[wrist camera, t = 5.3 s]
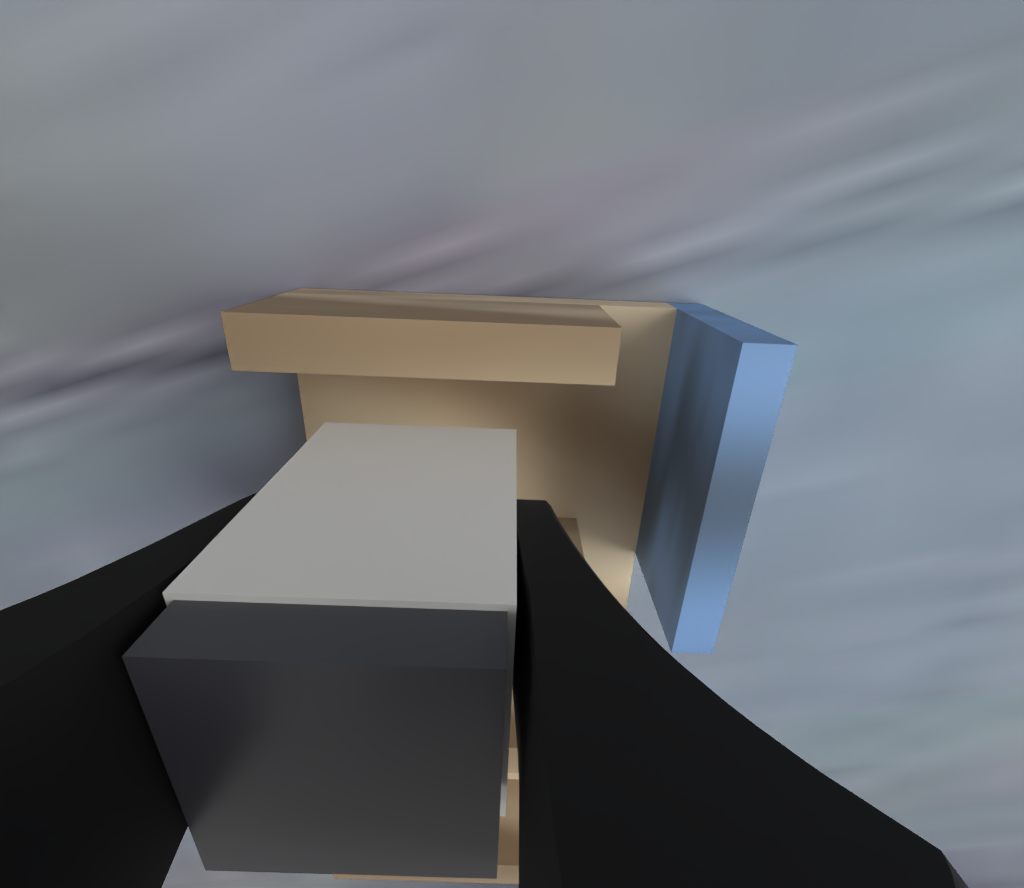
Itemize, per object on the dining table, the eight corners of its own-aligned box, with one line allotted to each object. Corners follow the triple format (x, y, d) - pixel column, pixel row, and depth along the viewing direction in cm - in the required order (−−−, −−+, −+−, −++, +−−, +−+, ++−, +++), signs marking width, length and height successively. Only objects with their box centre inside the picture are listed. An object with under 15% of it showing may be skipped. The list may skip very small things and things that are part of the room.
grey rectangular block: (509, 580, 12) (504, 883, 6) (344, 575, 12) (199, 874, 6) (516, 429, 10) (517, 662, 5) (325, 422, 10) (109, 648, 5)
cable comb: (612, 776, 22) (637, 922, 17) (364, 768, 22) (324, 912, 17) (702, 304, 13) (797, 344, 9) (300, 288, 13) (189, 320, 9)
